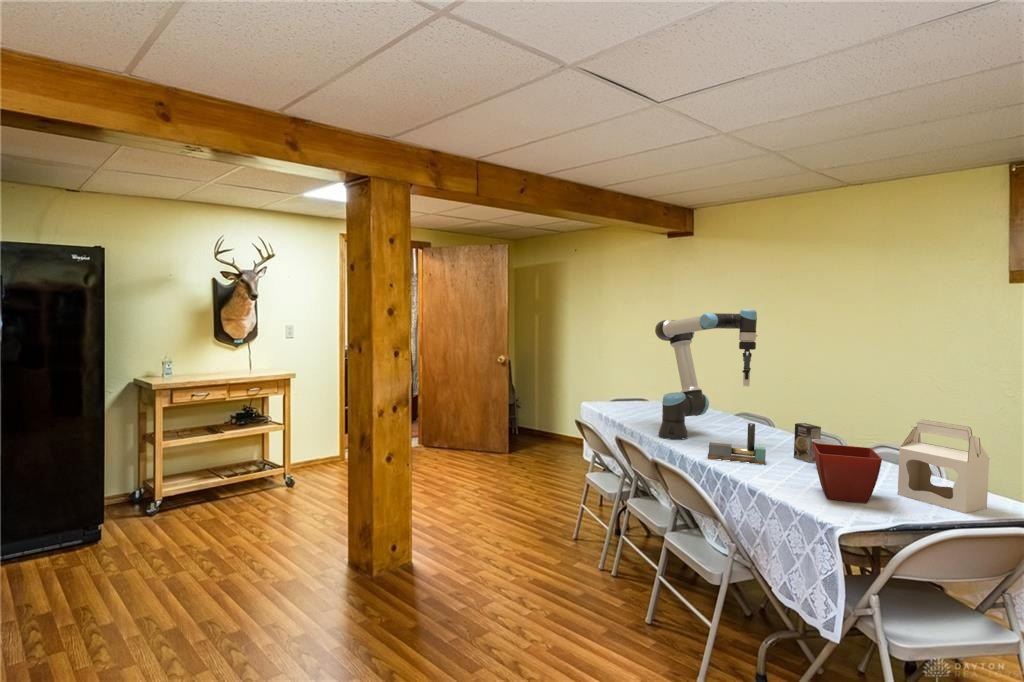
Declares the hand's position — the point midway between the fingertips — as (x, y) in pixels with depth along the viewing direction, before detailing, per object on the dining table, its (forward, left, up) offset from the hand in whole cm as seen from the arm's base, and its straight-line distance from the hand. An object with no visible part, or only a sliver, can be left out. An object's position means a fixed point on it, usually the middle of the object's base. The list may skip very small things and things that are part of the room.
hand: (746, 384), depth 274 cm
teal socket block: (+22, -13, -30) cm, 40 cm away
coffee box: (+26, +11, -32) cm, 43 cm away
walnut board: (+15, -20, -32) cm, 40 cm away
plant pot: (+69, -22, -32) cm, 79 cm away
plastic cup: (+40, +5, -32) cm, 51 cm away
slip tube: (+18, -17, -29) cm, 38 cm away
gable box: (+85, +6, -32) cm, 91 cm away
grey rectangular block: (+10, -25, -30) cm, 40 cm away
